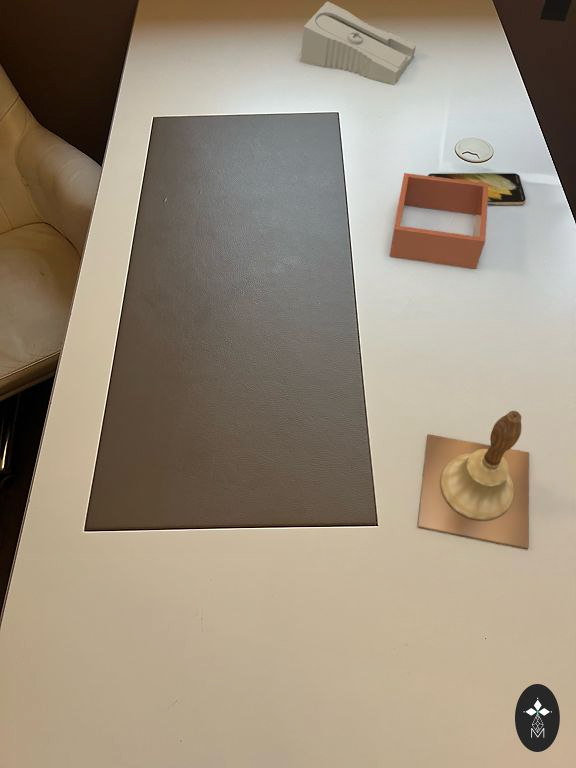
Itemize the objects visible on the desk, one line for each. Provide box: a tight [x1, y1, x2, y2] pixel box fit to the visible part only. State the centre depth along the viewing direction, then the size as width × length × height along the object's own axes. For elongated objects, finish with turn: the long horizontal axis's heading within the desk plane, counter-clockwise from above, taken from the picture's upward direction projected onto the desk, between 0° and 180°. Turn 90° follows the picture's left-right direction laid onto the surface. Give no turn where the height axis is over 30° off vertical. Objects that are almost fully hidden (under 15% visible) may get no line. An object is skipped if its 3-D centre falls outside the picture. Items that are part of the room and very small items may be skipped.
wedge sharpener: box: [300, 1, 417, 85], centre depth 122 cm, size 11×20×7 cm, turn 64°
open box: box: [389, 172, 489, 270], centre depth 94 cm, size 13×13×6 cm
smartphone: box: [427, 172, 527, 205], centre depth 101 cm, size 7×1×15 cm
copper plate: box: [417, 433, 530, 550], centre depth 72 cm, size 12×12×1 cm
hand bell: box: [440, 410, 522, 521], centre depth 65 cm, size 8×8×16 cm
